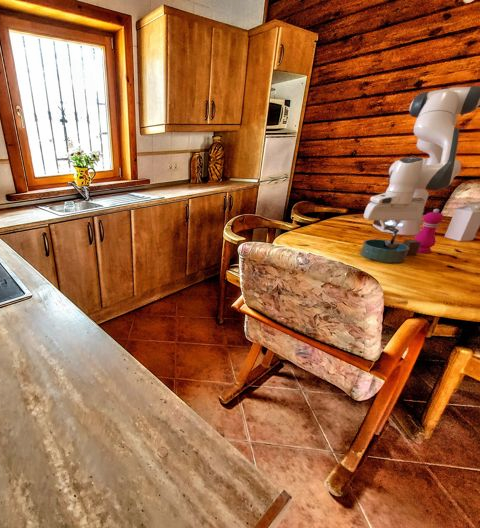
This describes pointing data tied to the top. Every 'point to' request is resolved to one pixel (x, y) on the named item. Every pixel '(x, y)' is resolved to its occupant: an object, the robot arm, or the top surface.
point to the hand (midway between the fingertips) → (387, 229)
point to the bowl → (383, 252)
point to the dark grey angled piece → (391, 243)
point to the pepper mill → (429, 231)
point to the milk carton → (464, 222)
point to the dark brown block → (412, 246)
